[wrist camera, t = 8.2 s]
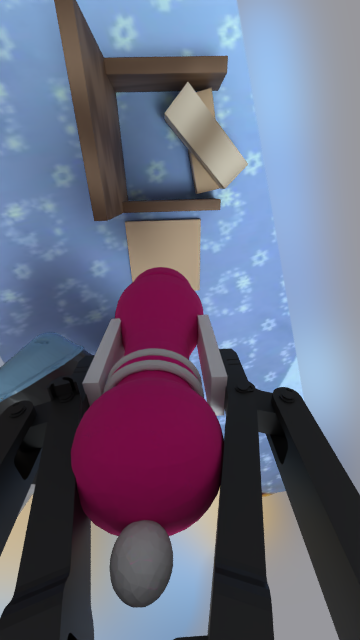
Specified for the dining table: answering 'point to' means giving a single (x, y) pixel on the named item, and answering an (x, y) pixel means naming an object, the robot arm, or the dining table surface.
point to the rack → (102, 113)
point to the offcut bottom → (199, 174)
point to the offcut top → (204, 137)
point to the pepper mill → (149, 437)
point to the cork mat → (165, 247)
